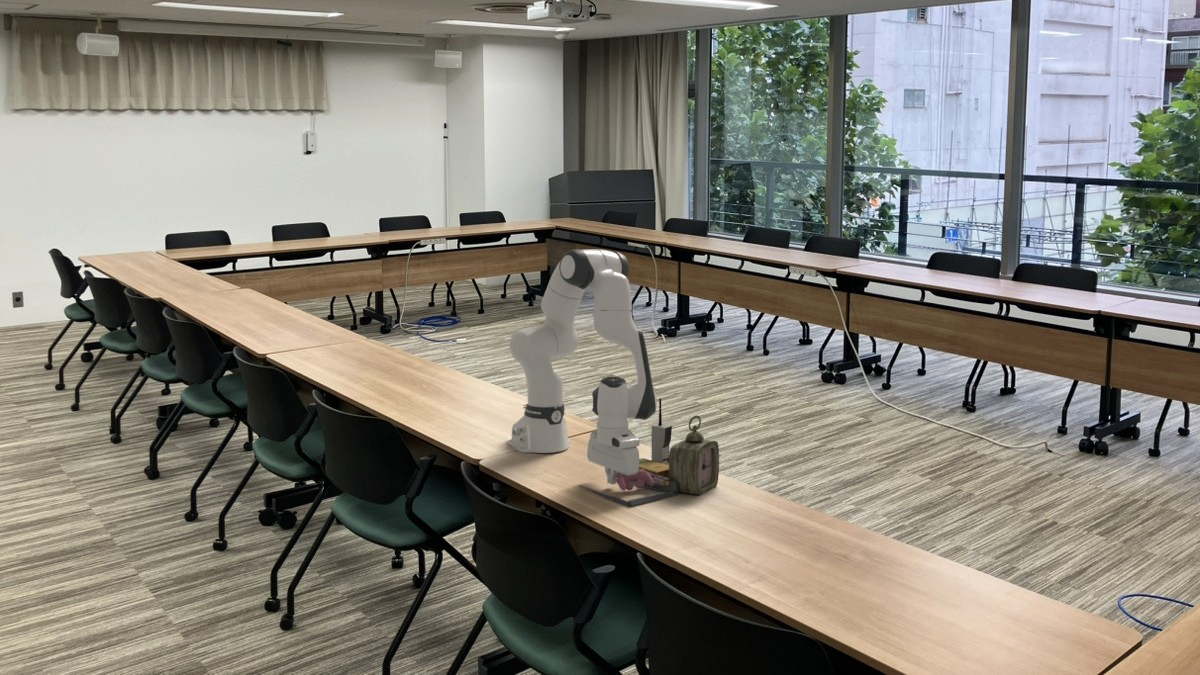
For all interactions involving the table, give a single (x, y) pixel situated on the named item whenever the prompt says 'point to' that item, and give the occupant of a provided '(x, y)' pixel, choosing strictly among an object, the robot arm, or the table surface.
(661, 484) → the dock panel
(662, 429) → the vintage mobile phone
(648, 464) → the carton
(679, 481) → the tabletop clock
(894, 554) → the table surface
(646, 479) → the purple lumpy piece
